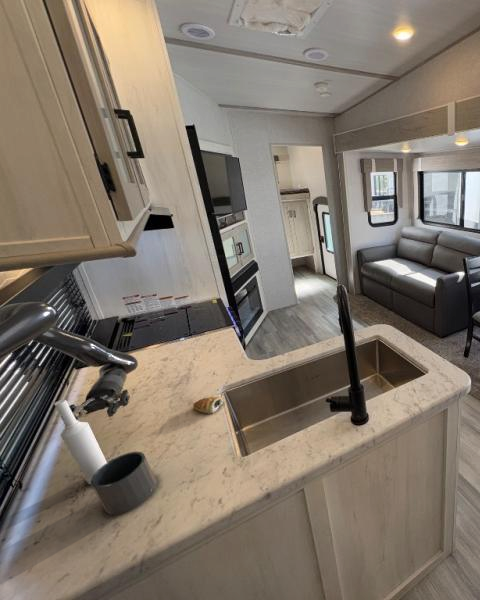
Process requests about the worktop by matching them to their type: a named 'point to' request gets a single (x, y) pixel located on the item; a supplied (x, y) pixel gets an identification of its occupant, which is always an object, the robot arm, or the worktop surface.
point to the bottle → (80, 442)
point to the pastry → (208, 404)
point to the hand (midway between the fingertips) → (89, 420)
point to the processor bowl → (124, 483)
